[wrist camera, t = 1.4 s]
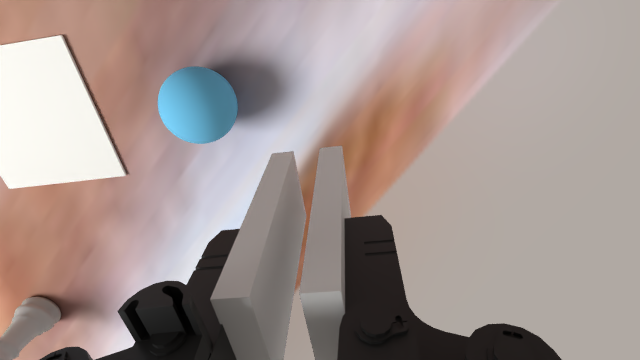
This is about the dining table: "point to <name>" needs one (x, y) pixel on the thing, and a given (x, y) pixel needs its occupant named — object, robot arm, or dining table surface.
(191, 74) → the ball
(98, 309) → the dining table surface
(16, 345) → the rook chess piece
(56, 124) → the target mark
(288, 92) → the dining table surface
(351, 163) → the dining table surface
